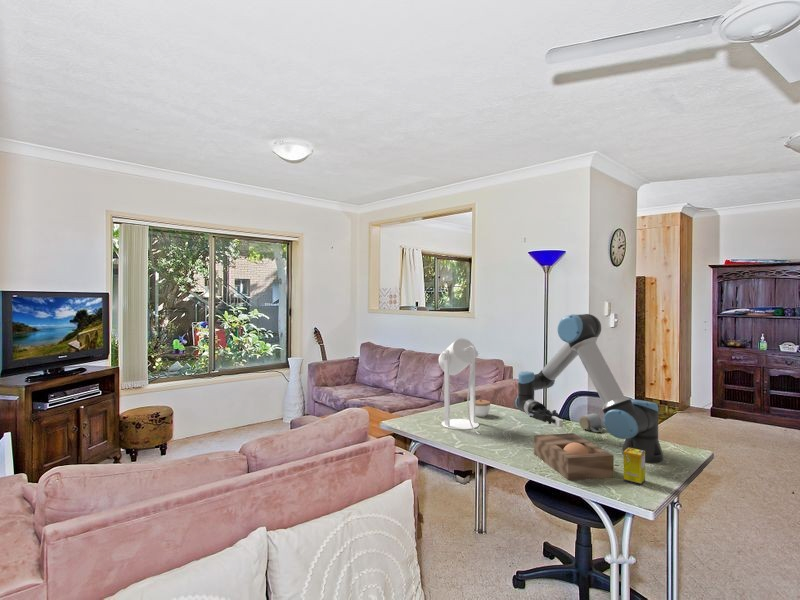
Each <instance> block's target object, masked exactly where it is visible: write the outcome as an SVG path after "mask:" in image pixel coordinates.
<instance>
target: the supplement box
mask: <svg viewBox="0 0 800 600" xmlns="http://www.w3.org/2000/svg"><path fill="white" fill-rule="evenodd" d="M622 456H623V483H624V482H625V483H628V484H632V485H637V486H642V485H643V484H644V482H646V462H645V451H643V450H638V449H633V448H627V449H626V450H625V451H624V452H623V454H622Z"/></svg>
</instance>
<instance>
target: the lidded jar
mask: <svg viewBox="0 0 800 600" xmlns="http://www.w3.org/2000/svg"><path fill="white" fill-rule="evenodd" d="M490 409H491V401H490V400H486V399H482V398H479V399H475V417H479V418H483V417H487V415H488V414H489V413H490Z"/></svg>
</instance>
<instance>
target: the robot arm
mask: <svg viewBox="0 0 800 600" xmlns="http://www.w3.org/2000/svg"><path fill="white" fill-rule="evenodd" d="M601 333H602V323H601V322H600V320H599V319H598V317H596V316H595V315H593V314H590V313H583V314H570V315H565V316H564V317H562V318H561V319H560V320H559V322H558V325H557V334H558V335H557V336H558V337H559V338H560V340H561V341H563V342H565V344H563V346H562V347H561V348H560V349H559V350H558V352H557V353H555V355H554V356H553V357H552V358H551V359H550V360H549V361H548V362H547V364H546V365H545V366H544V367H543V368H542V369H541V370H540V371H539V372H538V373H537V374H535V373H534V372H533V371H519V373H518V376H517V377H518V379H517V382H518V383H517V385H518V386H517V388H518V392H517V393H518V394H517V396H516V398H515V400H514V404H515V407H516V408H517V409H518V410H519V411H521V412H523V413H524V414H526V415H528V417H529V418H532V419H535V420H537V421H541V422H544V423H548V425H551V424H553V425H556V426H557V427H558V428H563V427H564V421H563V419H561V415H560V414H559V413H558V412H557V410H555V409H554V410H552V411H551V410H550V409H547V407H546V406H545V405H544V404H543V403H542V402H539V401H537V400H535V391H538V390H539V391H540V390H543V389H546V390H547V389H549V388H551V387H553V386H554V385H555V382H556V379H557V378H558V377H559V376H560V375H561V374H562V373H563V372H564V371H565V369H566V368H567V367H568V366H569V365H570V364H571V363H573V361H574V360H575V359H576V358H577V357H579V359H580V360H581V363H582V365H583V367H584V369H585V371H586V372H587V375H588V376H589V378H590V381H591V382H592V384H593V387H594V388H595V390H596V392H597V394H598V396H599V398H600V400H601V402H602V404H603V406H602V409H601V410H602V413H603V414H604V417H603V421H602V422H603V425H604V428H605V429H606V431H607V433H609V434H610V435H611V436H613V437H614V438H617V439H620V440H624V442H623V445H622V447H621V453H622V455H623V452H624V451H625V450H626V449H627V448H633V449H638V450H643V451H645V463H659V462H662V461H663V460H664V452H663V450H662V447H661V444H660V440H659V414H660V411H659V405H658V404H657V403H656V402H653V401H647V400H642V399H632V398H629V397H628V396H625V394H624V393H623V391H622V389H621V388H620V386H619V383H618V382H617V380H616V378H615V376H614V374H613V373H612V370H611V369H610V367H609V365H608V362H607V361H606V359H605V358H604V355H603V354H602V352H601V350H600V348H599V347H598V344H597V341H598V337H599V336H600V335H601Z"/></svg>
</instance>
